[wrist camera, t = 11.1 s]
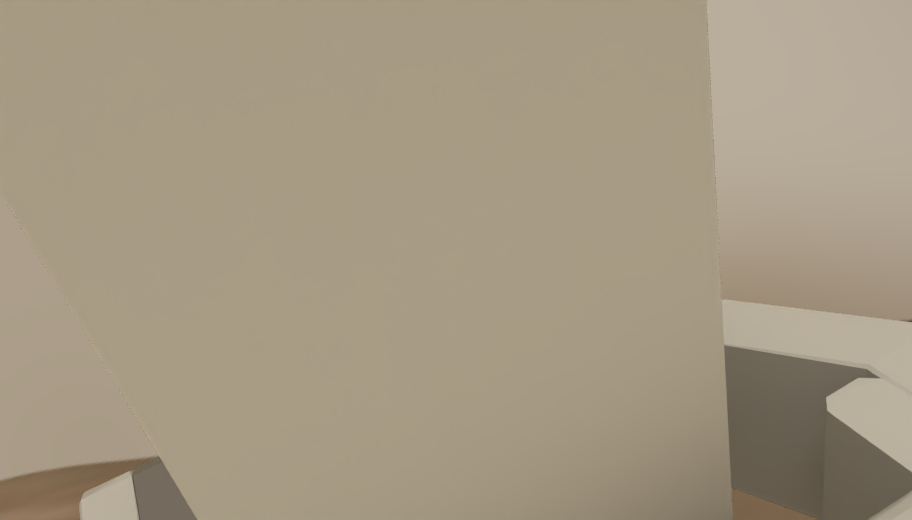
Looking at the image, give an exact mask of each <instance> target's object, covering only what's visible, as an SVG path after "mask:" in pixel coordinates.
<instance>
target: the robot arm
mask: <svg viewBox="0 0 912 520" xmlns="http://www.w3.org/2000/svg"><path fill="white" fill-rule="evenodd" d="M722 315H723V334H724V354H725V374H726V393H727V413H728V432H729V452H730V471H731V488H733V489H736V490H739V491H742V492H744V493H747V494H750V495H753V496H756V497H758V498H761V499H764V500H767V501H769V502H772V503H775V504H778V505H780V506H783V507H786V508H789V509H792V510H794V511H797V512H800V513H803V514H805V515H808V516H811V517H814V518H817V519H819V520H912V323H911V322H903V321H895V320H887V319H879V318H870V317H863V316H855V315H846V314H839V313H830V312H822V311H814V310H806V309H798V308H790V307H781V306H774V305H766V304H758V303H749V302H741V301H732V300H725V299H722ZM79 508H80V520H197V518H196V517H195V515H194V513H193V512H192V510H191V508H190V507H189V505H188V503H187V502H186V500H185V498H184V497H183V495H182V493H181V492H180V490H179V488H178V487H177V485H176V483H175V482H174V480H173V478H172V477H171V475H170V473H169V472H168V470H167V468H166V467H165V465H164V463H163V462H162V460H161V458H160V457H158V458H156V459H154V460H152V461H150V462H147V463H145V464H143V465H141V466H139V467H137V468H135V469H134V471H128V472H126V473H124V474H122V475H120V476H118V477H116V478H114V479H112V480H109V481H107V482H105V483H103V484H101V485H99V486H97V487H95V488H93V489H90V490H88V491H86V492H84V494H83V496H82V499H81V502H80V504H79Z"/></svg>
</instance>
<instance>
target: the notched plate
mask: <svg viewBox="0 0 912 520" xmlns="http://www.w3.org/2000/svg"><path fill="white" fill-rule="evenodd" d="M707 22H708V21H707V3H706V0H0V193H1V194H2V196H3V198H4V199H5V201H6V203H7V204H8V206H9V208H10V209H11V211H12V213H13V214H14V216H15V218H16V219H17V221H18V223H19V224H20V226H21V228H22V229H23V231H24V233H25V234H26V236H27V238H28V239H29V241H30V242H31V244H32V246H33V247H34V249H35V251H36V253H37V254H38V256H39V258H40V259H41V261H42V262H43V264H44V266H45V268H46V269H47V271H48V272H49V274H50V276H51V277H52V279H53V281H54V282H55V284H56V286H57V287H58V289H59V291H60V292H61V294H62V296H63V297H64V299H65V301H66V302H67V304H68V305H69V307H70V309H71V311H72V312H73V314H74V316H75V317H76V319H77V321H78V322H79V324H80V326H81V327H82V329H83V331H84V332H85V334H86V336H87V337H88V339H89V341H90V342H91V344H92V346H93V347H94V349H95V350H96V352H97V354H98V356H99V357H100V359H101V360H102V362H103V364H104V365H105V367H106V369H107V370H108V372H109V374H110V375H111V377H112V379H113V380H114V382H115V384H116V385H117V387H118V389H119V390H120V392H121V394H122V395H123V397H124V399H125V400H126V402H127V404H128V405H129V407H130V409H131V410H132V412H133V414H134V415H135V417H136V419H137V420H138V422H139V423H140V425H141V427H142V428H143V430H144V432H145V433H146V435H147V437H148V438H149V440H150V442H151V444H152V445H153V447H154V448H155V450H156V452H157V453H158V455H159V457H160V458H161V460H162V462H163V463H164V465H165V467H166V468H167V470H168V472H169V473H170V475H171V477H172V478H173V480H174V482H175V483H176V485H177V487H178V488H179V490H180V492H181V493H182V495H183V497H184V498H185V500H186V502H187V503H188V505H189V507H190V508H191V510H192V512H193V513H194V515H195V517H196V518H197V520H733V511H732V491H731V471H730V452H729V432H728V413H727V393H726V374H725V354H724V334H723V315H722V295H721V276H720V259H719V258H720V256H719V237H718V219H717V197H716V180H715V179H716V178H715V159H714V139H713V119H712V100H711V80H710V60H709V41H708V23H707Z"/></svg>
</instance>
